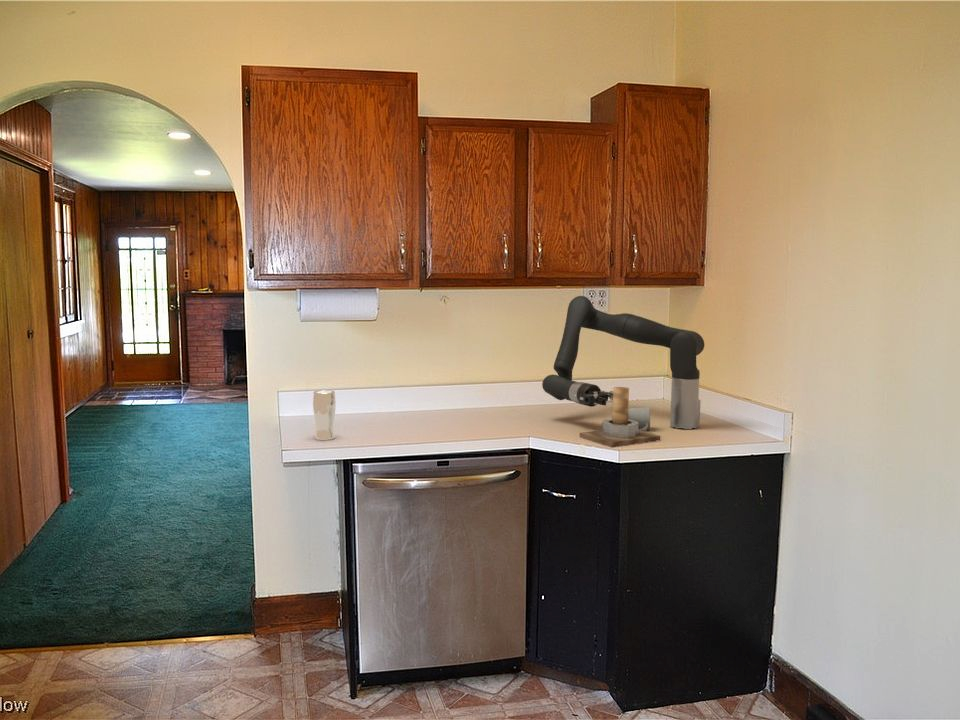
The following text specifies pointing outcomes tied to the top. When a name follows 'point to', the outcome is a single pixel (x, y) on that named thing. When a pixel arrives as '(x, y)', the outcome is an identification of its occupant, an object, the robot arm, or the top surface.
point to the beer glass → (324, 414)
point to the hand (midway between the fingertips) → (615, 401)
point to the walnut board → (613, 442)
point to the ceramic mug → (640, 417)
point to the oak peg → (620, 405)
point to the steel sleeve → (620, 429)
